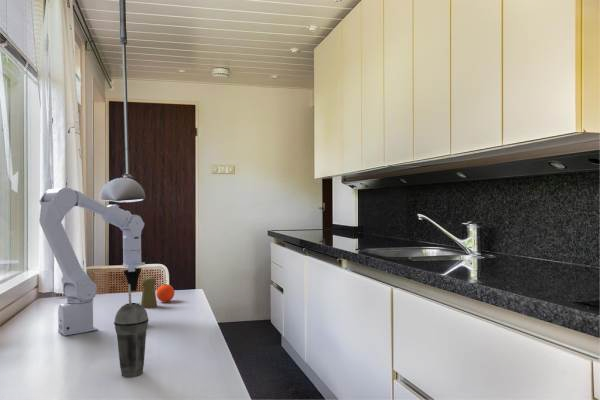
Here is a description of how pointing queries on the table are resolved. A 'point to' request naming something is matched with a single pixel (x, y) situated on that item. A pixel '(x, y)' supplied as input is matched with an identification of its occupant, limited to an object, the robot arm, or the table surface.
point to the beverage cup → (131, 337)
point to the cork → (148, 293)
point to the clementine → (165, 293)
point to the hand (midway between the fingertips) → (132, 290)
